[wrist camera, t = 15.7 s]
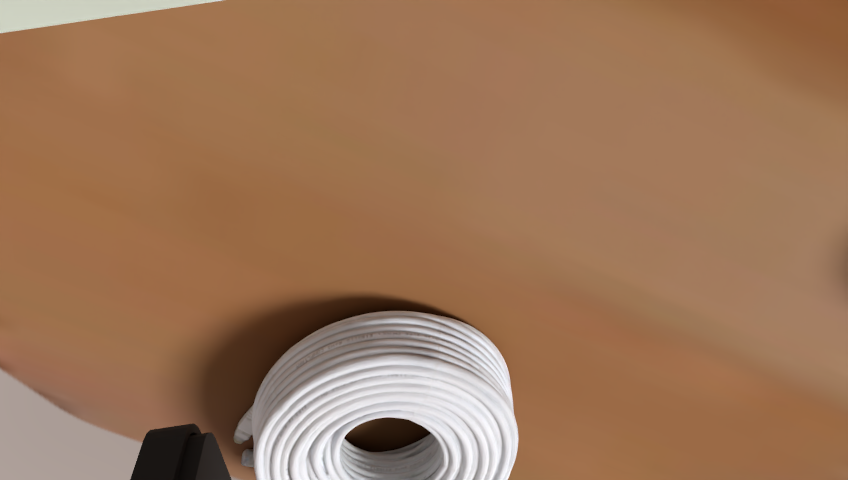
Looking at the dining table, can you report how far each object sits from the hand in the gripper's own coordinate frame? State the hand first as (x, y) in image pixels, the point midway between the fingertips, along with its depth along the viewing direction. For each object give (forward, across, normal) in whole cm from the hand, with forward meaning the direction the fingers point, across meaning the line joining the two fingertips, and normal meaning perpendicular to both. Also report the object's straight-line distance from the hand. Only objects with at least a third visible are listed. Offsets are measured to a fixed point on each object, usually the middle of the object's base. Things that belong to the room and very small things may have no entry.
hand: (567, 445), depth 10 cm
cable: (+31, +6, +27) cm, 42 cm away
